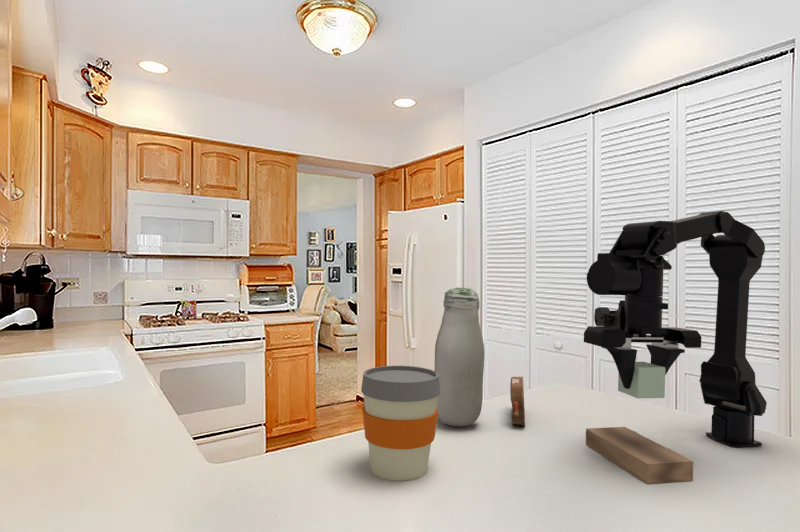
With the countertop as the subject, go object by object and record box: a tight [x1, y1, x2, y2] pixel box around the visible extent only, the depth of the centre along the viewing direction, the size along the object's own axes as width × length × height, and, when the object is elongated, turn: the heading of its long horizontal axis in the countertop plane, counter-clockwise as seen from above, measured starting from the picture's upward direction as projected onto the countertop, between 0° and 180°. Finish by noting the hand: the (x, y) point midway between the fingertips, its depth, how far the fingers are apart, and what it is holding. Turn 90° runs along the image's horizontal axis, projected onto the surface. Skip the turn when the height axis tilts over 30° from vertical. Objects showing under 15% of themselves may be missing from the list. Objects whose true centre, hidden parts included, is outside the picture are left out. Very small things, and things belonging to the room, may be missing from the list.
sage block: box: [617, 361, 666, 399], centre depth 80 cm, size 5×5×5 cm
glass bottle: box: [433, 287, 486, 428], centre depth 97 cm, size 10×10×28 cm
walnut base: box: [585, 426, 694, 485], centre depth 80 cm, size 8×16×3 cm, turn 11°
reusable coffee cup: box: [360, 365, 440, 482], centre depth 75 cm, size 13×13×15 cm
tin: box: [509, 376, 526, 427], centre depth 102 cm, size 15×3×8 cm, turn 165°
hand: (640, 388), depth 80 cm, fingers closed on sage block, 5 cm apart
